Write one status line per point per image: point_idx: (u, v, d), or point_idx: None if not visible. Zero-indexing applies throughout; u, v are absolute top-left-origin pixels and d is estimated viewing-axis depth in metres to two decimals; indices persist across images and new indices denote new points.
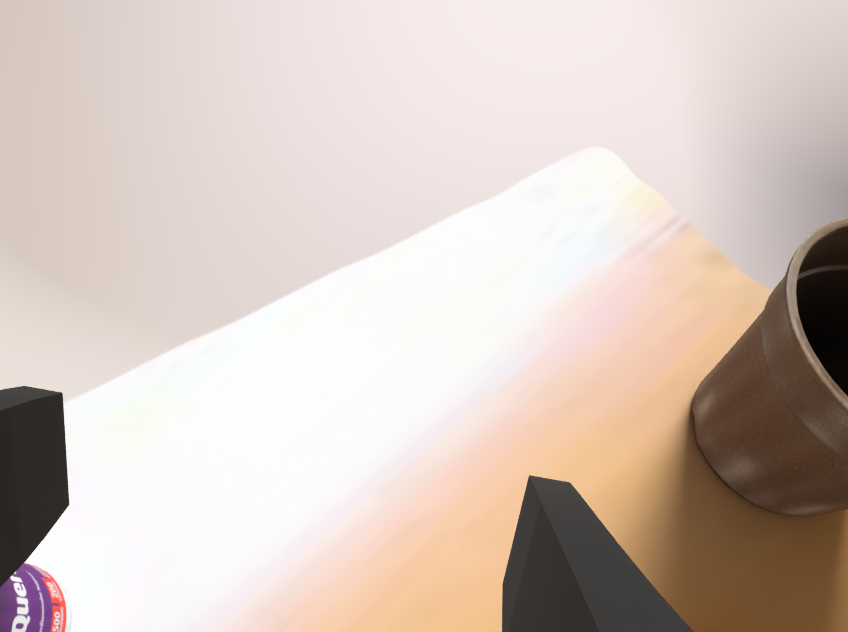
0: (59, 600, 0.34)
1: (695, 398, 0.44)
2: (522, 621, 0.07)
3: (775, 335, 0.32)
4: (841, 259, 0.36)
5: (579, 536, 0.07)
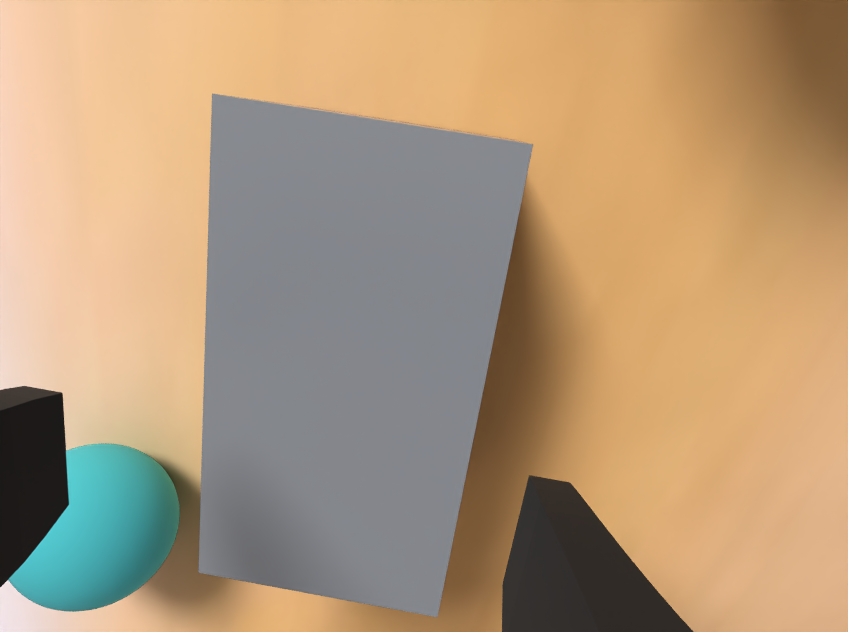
0: None
1: None
2: (522, 621, 0.07)
3: None
4: None
5: (579, 536, 0.07)
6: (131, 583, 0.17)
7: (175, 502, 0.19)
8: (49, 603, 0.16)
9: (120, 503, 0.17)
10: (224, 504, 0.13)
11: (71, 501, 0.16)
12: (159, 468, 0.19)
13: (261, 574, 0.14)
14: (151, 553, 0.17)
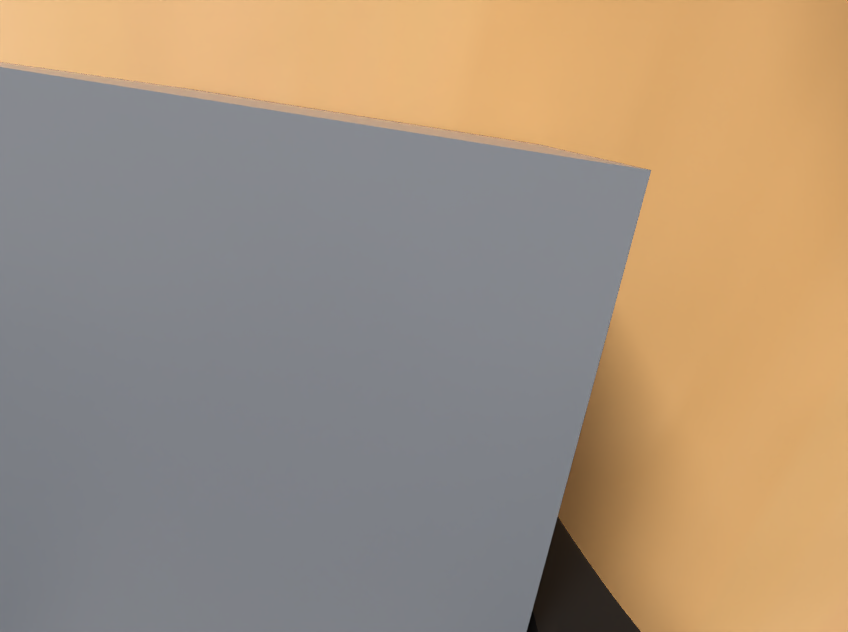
0: None
1: None
2: None
3: None
4: None
5: None
6: None
7: None
8: None
9: None
10: None
11: None
12: None
13: None
14: None
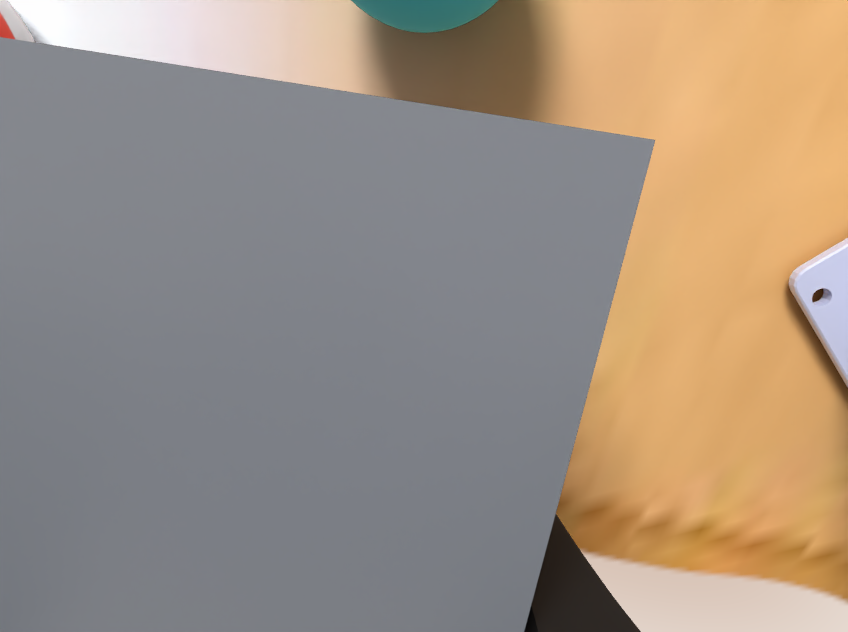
0: None
1: None
2: None
3: None
4: None
5: None
6: None
7: None
8: None
9: None
10: None
11: None
12: None
13: None
14: None
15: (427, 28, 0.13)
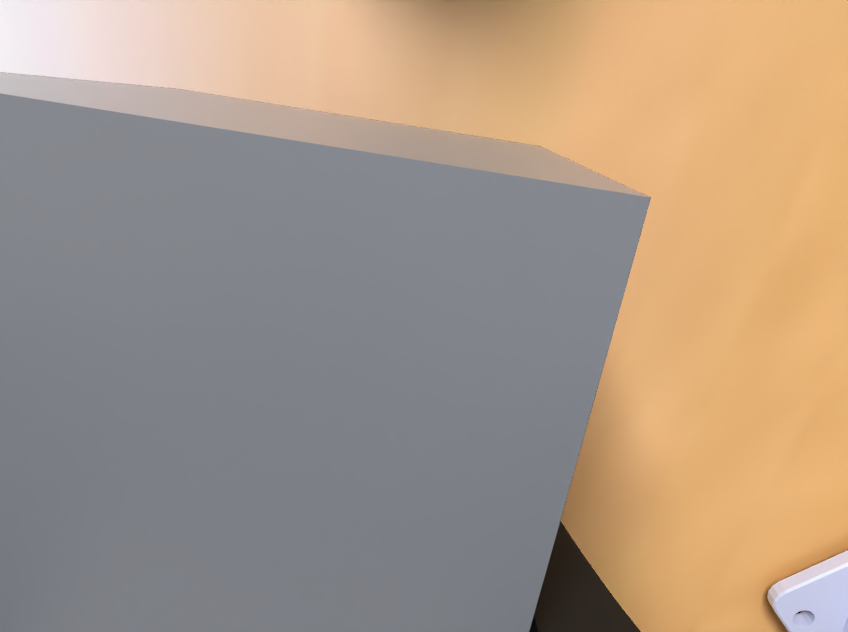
0: None
1: None
2: None
3: None
4: None
5: None
6: None
7: None
8: None
9: None
10: None
11: None
12: None
13: None
14: None
15: None
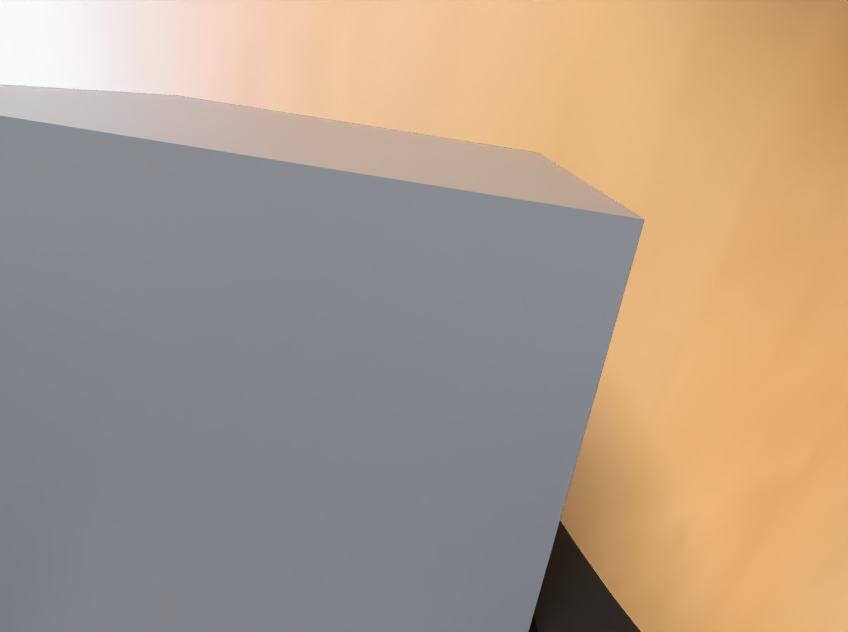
0: None
1: None
2: None
3: None
4: None
5: None
6: None
7: None
8: None
9: None
10: None
11: None
12: None
13: None
14: None
15: None
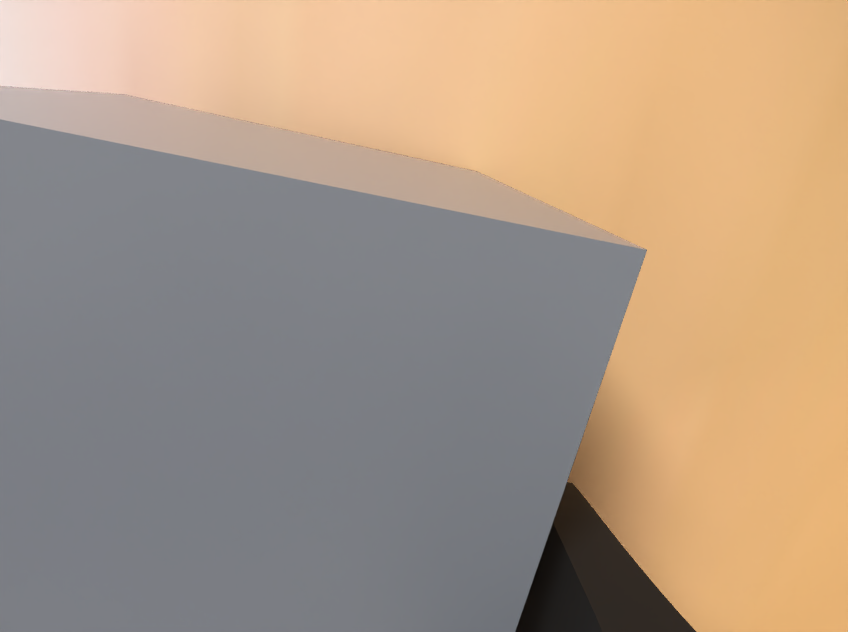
0: None
1: None
2: (525, 622, 0.07)
3: None
4: None
5: (582, 536, 0.07)
6: None
7: None
8: None
9: None
10: None
11: None
12: None
13: None
14: None
15: None
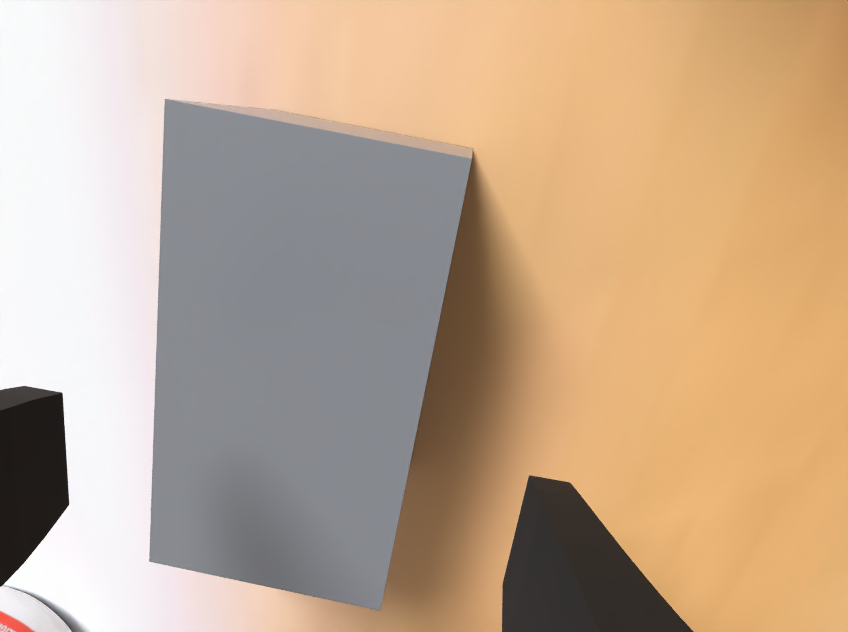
0: None
1: None
2: (522, 621, 0.07)
3: None
4: None
5: (579, 536, 0.07)
6: None
7: None
8: None
9: None
10: (174, 495, 0.14)
11: None
12: None
13: (210, 565, 0.14)
14: None
15: None
